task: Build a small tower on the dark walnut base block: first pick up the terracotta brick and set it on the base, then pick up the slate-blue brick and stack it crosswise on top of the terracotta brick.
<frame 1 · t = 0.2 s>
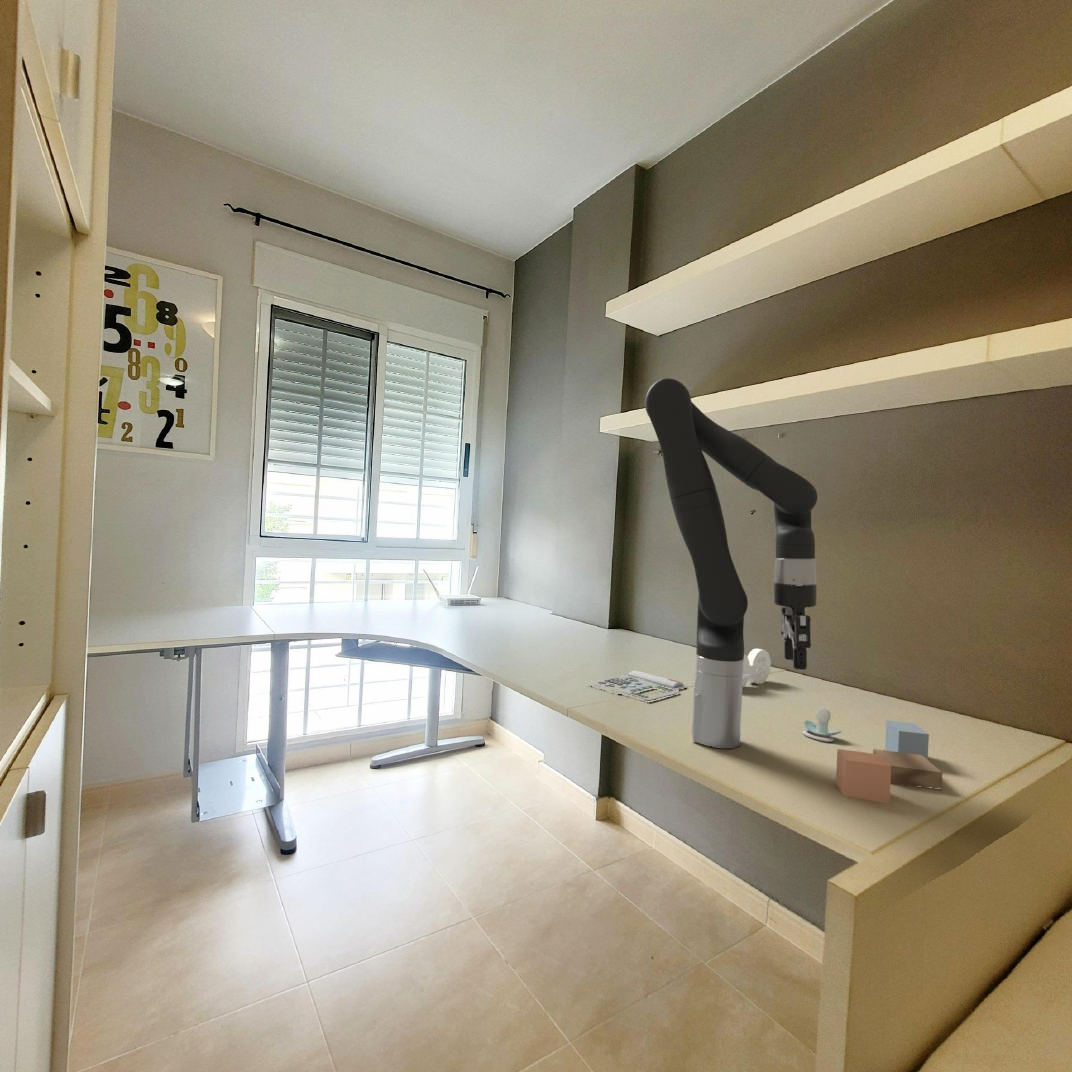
hand: (795, 664, 107), 17 cm above the table, tool pointing down, fingers open, 8 cm apart
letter: (746, 686, 157), on the table
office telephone: (641, 690, 150), on the table
base block: (905, 776, 98), on the table
pacifier: (819, 738, 117), on the table
brick terracotta: (861, 793, 91), on the table
brick slate: (905, 757, 108), on the table
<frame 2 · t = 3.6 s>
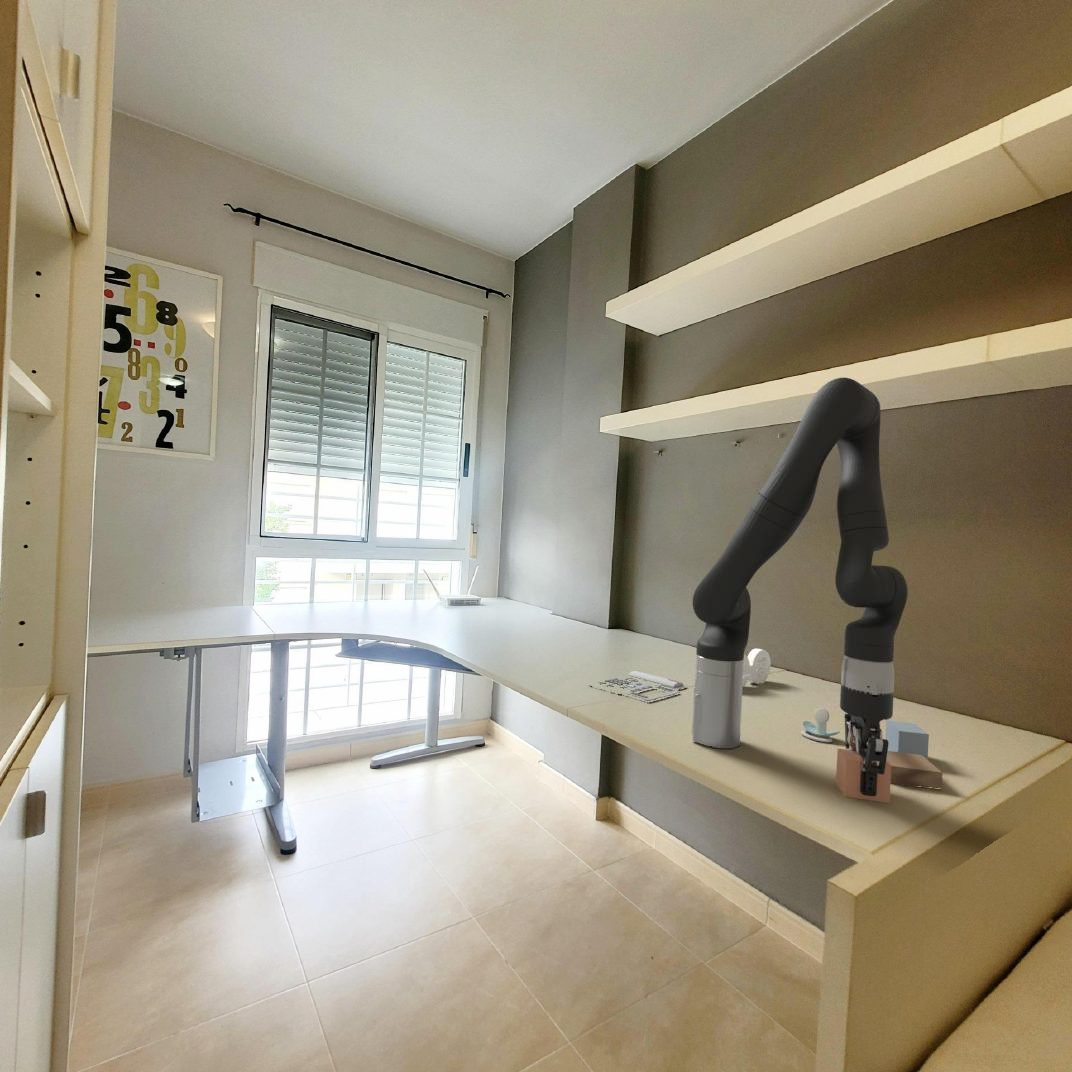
hand: (862, 786, 91), 1 cm above the table, tool pointing down, fingers closed on brick terracotta, 5 cm apart
brick terracotta: (861, 792, 91), on the table, touching gripper
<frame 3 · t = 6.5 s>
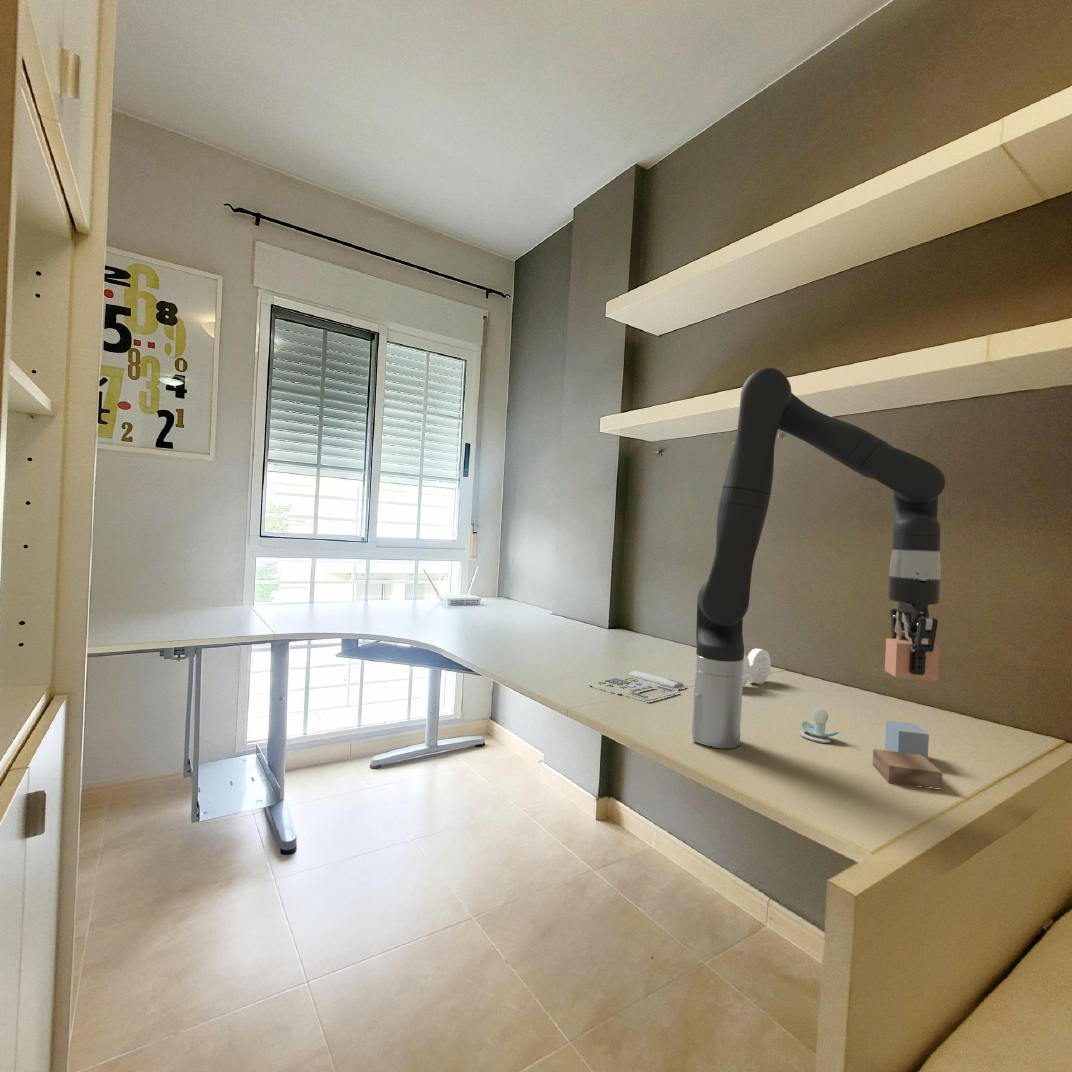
hand: (910, 670, 98), 19 cm above the table, tool pointing down, fingers closed on brick terracotta, 5 cm apart
brick terracotta: (910, 675, 98), point 18 cm above the table, touching gripper
when the fingers open (5 cm above the table, at t = 9.4 s): brick terracotta drops 1 cm, resting on base block.
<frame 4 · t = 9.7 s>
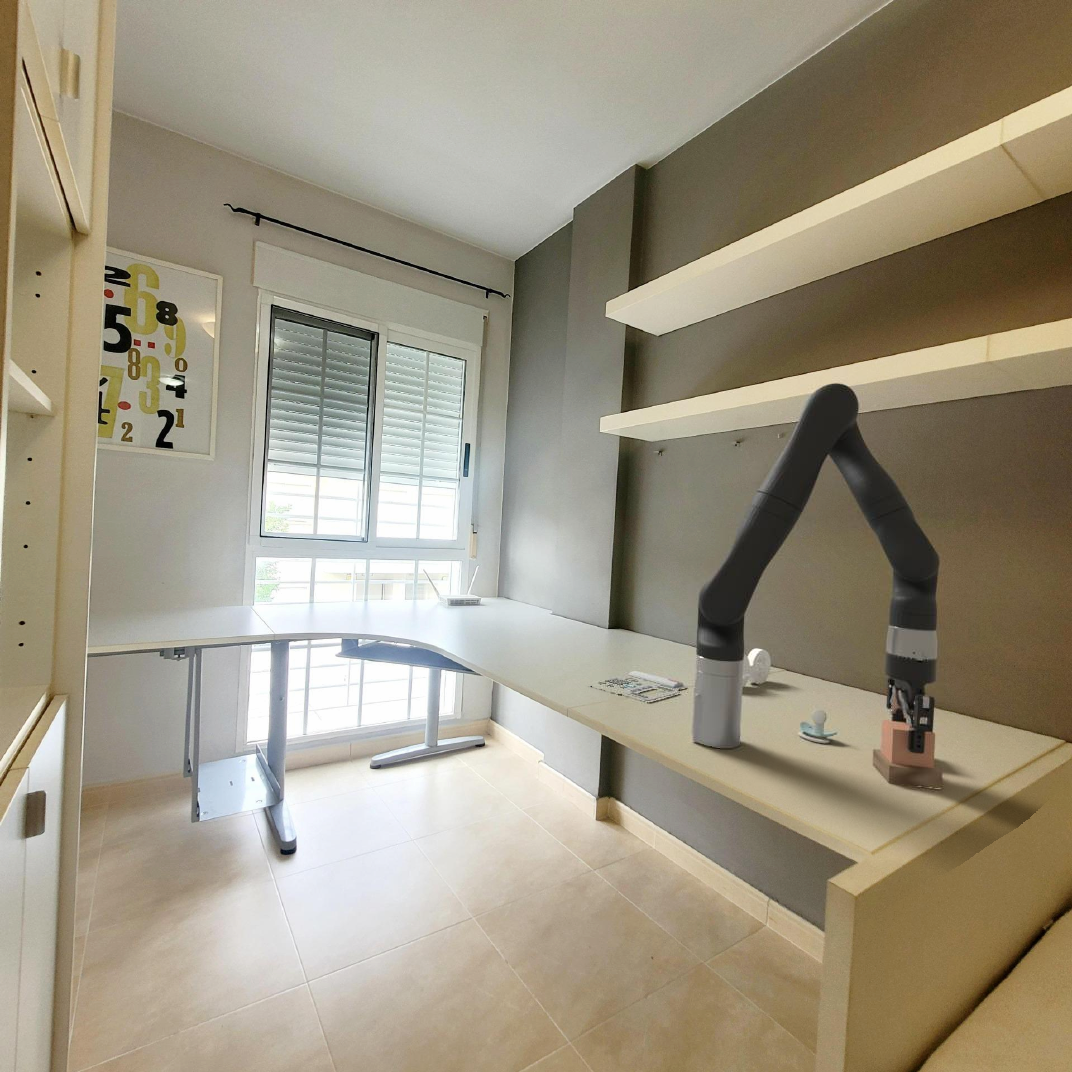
hand: (906, 744, 98), 6 cm above the table, tool pointing down, fingers open, 7 cm apart
brick terracotta: (906, 760, 98), point 3 cm above the table, touching base block
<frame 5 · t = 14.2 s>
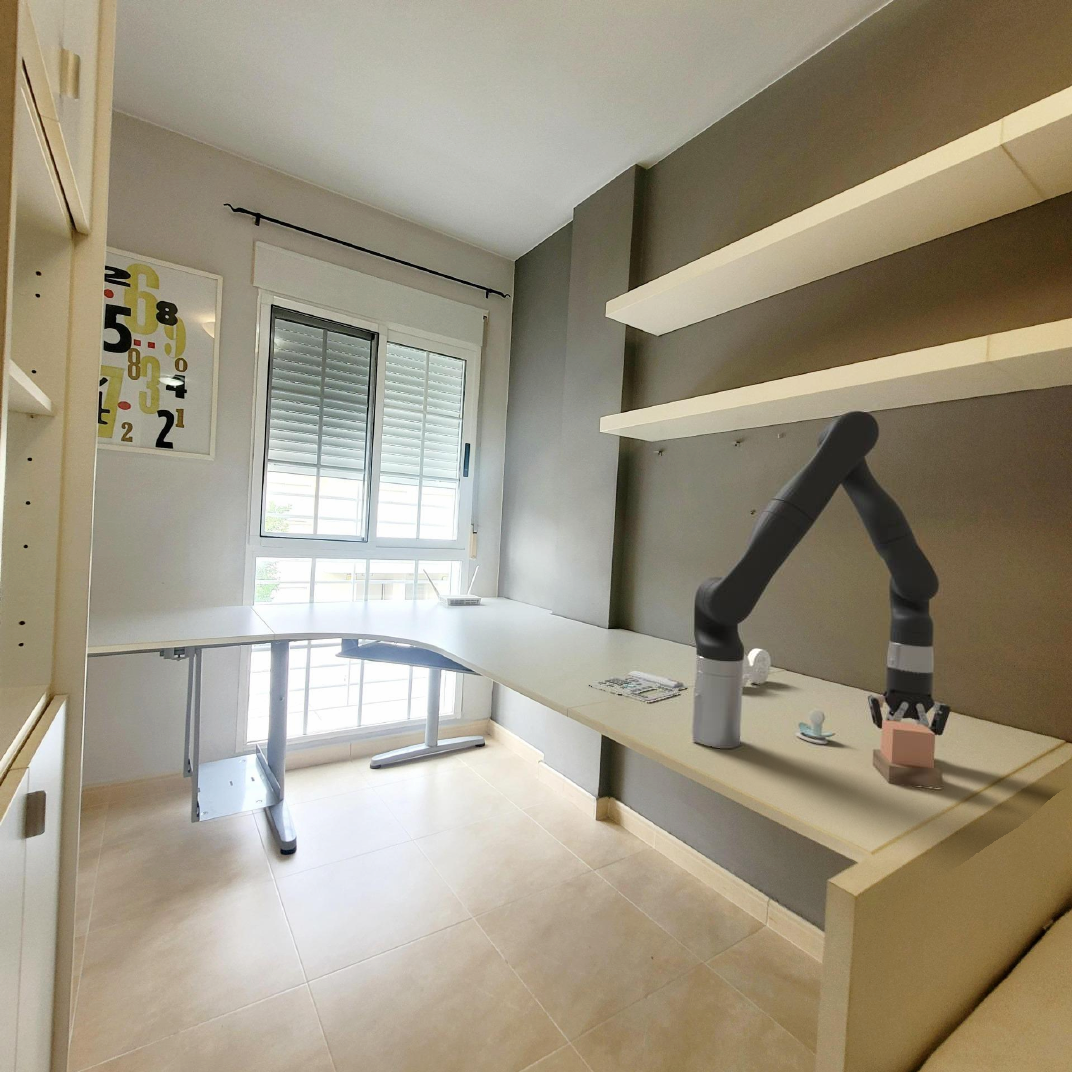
hand: (905, 752, 108), 1 cm above the table, tool pointing down, fingers closed on brick slate, 5 cm apart
brick slate: (905, 757, 108), on the table, touching gripper
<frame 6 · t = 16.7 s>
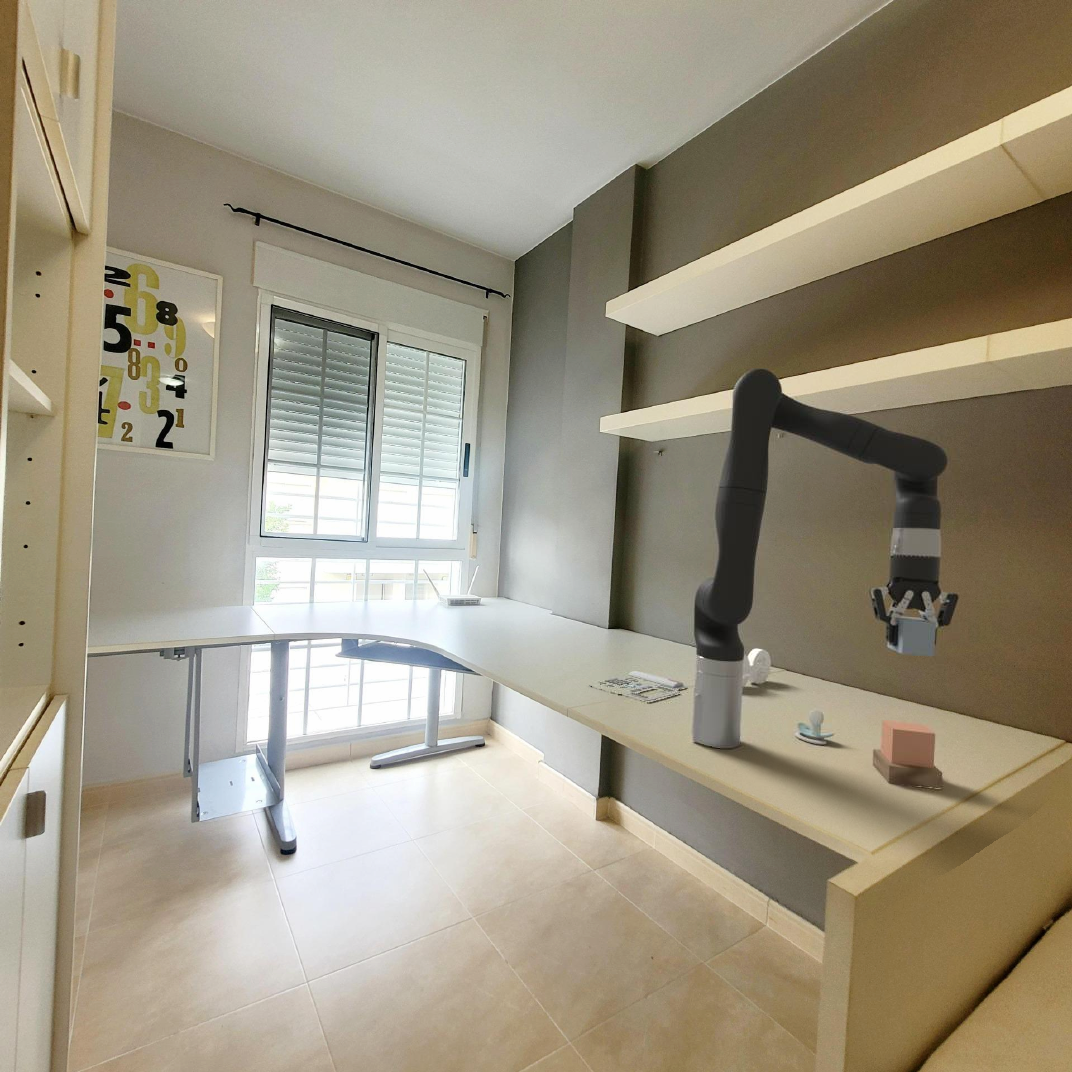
hand: (910, 646, 100), 23 cm above the table, tool pointing down, fingers closed on brick slate, 5 cm apart
brick slate: (909, 651, 100), point 22 cm above the table, touching gripper
when the fingers open (11 cm above the table, at t = 19.6 s): brick slate drops 1 cm, resting on brick terracotta.
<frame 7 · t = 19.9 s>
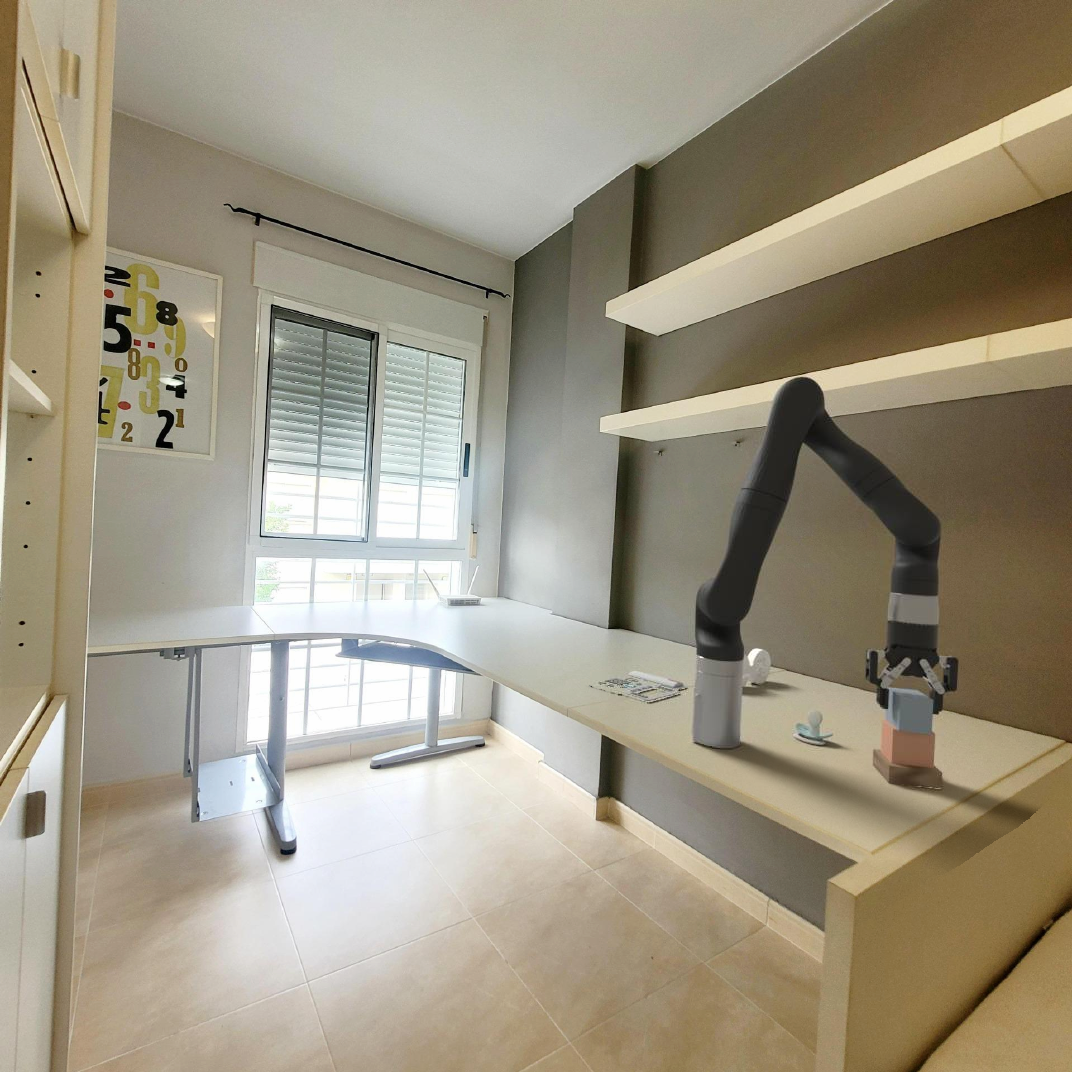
hand: (908, 710, 98), 12 cm above the table, tool pointing down, fingers open, 7 cm apart
brick terracotta: (906, 760, 98), point 3 cm above the table, touching base block, brick slate
brick slate: (907, 726, 98), point 9 cm above the table, touching brick terracotta
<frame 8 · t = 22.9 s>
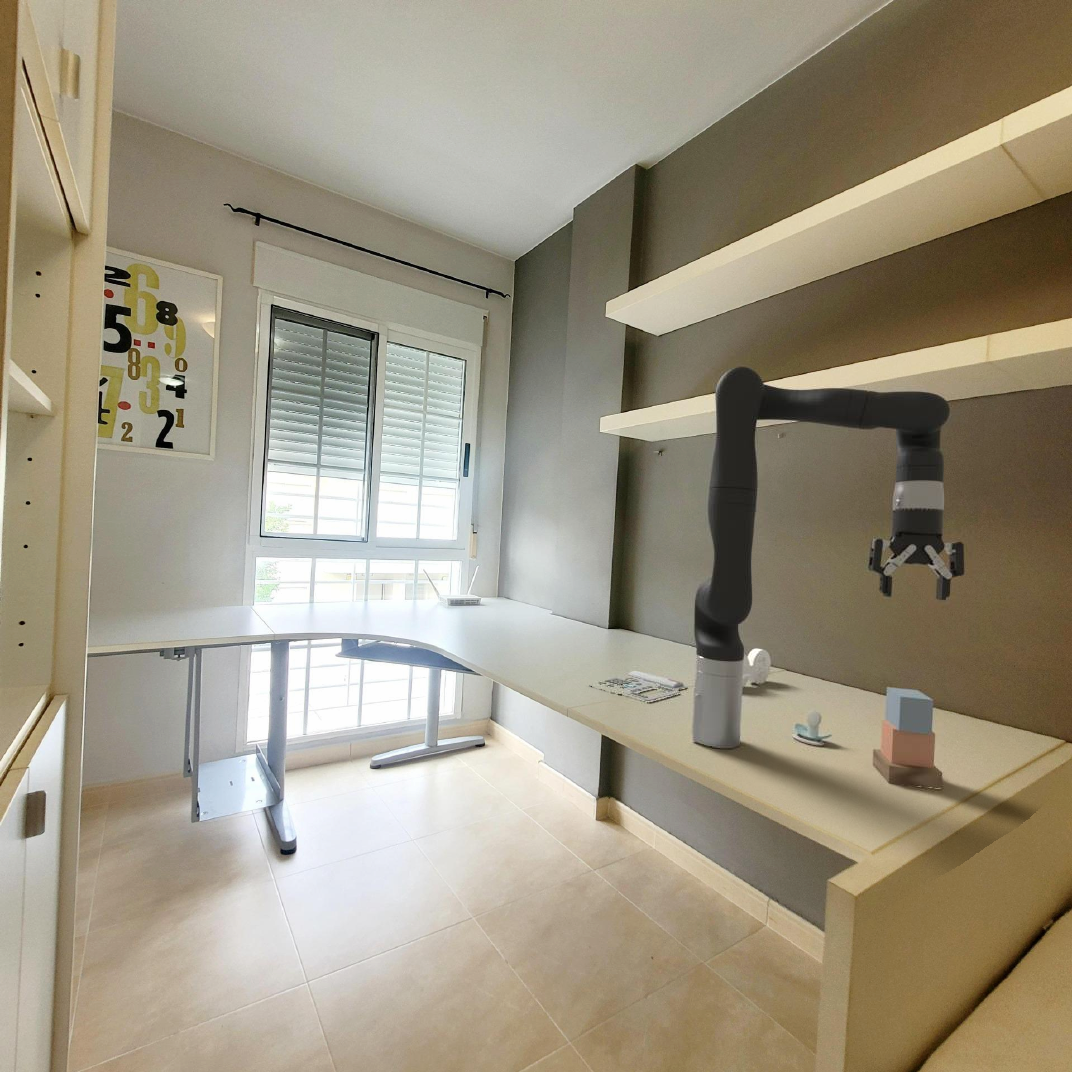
hand: (913, 598, 98), 32 cm above the table, tool pointing down, fingers open, 8 cm apart
at the end: brick terracotta 0.1 cm off-centre on the base block, point 3.0 cm above the base block's base; brick slate 0.0 cm off-centre on the base block, point 9.0 cm above the base block's base; brick slate tilted 0° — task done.
